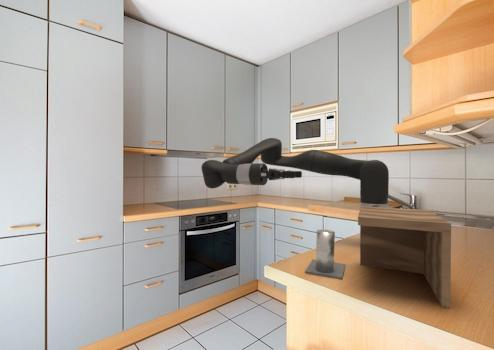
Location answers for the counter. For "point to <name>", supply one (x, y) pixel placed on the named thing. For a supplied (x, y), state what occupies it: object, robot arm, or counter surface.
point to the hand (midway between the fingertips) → (298, 174)
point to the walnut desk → (408, 244)
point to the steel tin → (325, 251)
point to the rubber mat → (336, 274)
